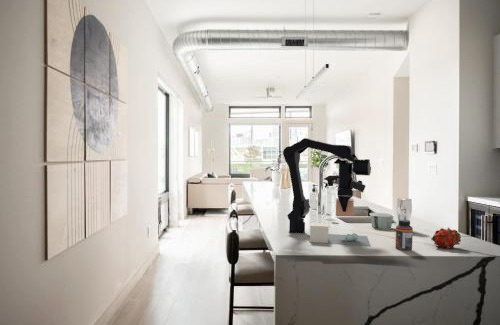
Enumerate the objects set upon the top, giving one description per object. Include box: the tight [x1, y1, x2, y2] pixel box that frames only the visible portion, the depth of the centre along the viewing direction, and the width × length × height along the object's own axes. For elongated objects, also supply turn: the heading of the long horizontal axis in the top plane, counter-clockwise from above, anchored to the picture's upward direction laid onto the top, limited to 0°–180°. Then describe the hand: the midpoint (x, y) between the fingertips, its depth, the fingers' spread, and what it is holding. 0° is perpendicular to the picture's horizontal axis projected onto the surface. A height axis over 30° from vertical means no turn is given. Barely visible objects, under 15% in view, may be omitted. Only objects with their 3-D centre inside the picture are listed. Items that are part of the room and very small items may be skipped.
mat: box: [308, 233, 371, 247], centre depth 173 cm, size 24×21×1 cm
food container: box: [369, 212, 395, 230], centre depth 207 cm, size 12×12×6 cm
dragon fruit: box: [431, 227, 462, 249], centre depth 162 cm, size 8×8×12 cm
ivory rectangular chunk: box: [309, 222, 330, 244], centre depth 169 cm, size 7×7×6 cm
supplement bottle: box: [395, 220, 414, 252], centre depth 157 cm, size 6×6×11 cm
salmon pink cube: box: [335, 197, 355, 217], centre depth 178 cm, size 7×7×6 cm
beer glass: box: [396, 197, 413, 226], centre depth 201 cm, size 7×7×15 cm
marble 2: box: [351, 232, 359, 241], centre depth 171 cm, size 3×3×3 cm
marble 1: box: [345, 233, 353, 241], centre depth 169 cm, size 3×3×3 cm
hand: (344, 210), depth 178 cm, fingers closed on salmon pink cube, 7 cm apart
